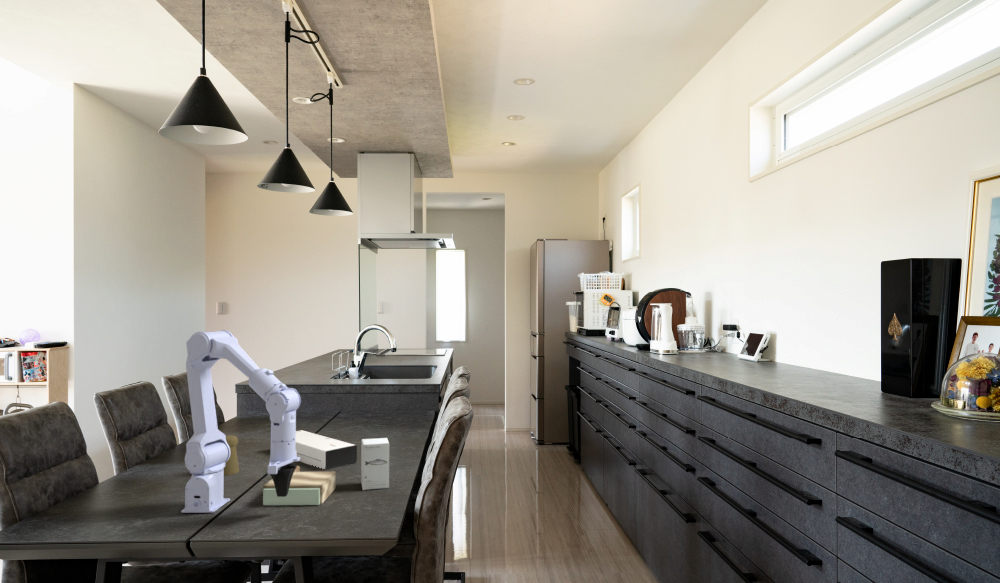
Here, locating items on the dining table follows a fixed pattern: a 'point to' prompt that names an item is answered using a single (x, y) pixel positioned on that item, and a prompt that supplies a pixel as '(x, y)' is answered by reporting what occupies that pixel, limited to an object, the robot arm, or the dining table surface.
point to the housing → (311, 482)
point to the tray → (292, 497)
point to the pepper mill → (232, 456)
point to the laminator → (324, 450)
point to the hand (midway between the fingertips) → (282, 495)
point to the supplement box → (374, 463)
